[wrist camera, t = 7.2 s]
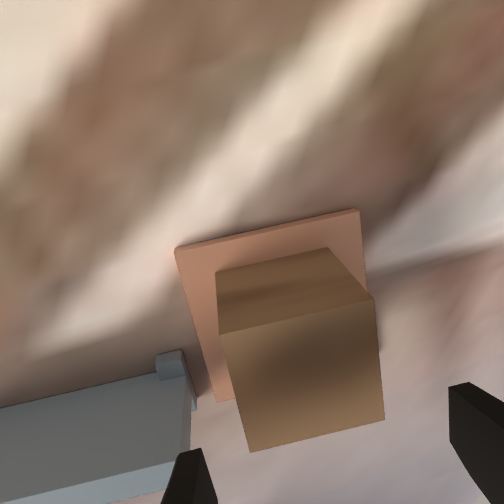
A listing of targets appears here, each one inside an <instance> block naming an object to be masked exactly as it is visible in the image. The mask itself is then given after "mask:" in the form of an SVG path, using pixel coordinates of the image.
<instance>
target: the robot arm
mask: <svg viewBox="0 0 504 504" xmlns="http://www.w3.org/2000/svg"><path fill="white" fill-rule="evenodd" d="M448 390H449V435H450V442H451V444H452V446H453V448H454V449H455V451H456V453H457V454H458V456H459V458H460V460H461V461H462V463H463V465H464V466H465V468H466V469H467V471H468V473H469V474H470V476H471V477H472V479H473V480H474V482H475V483H476V484H477V486H478V487H479V488H480V490H481V491H482V492H483V494H484V495H485V496H486V498H487V499H488V500H489V502H490V503H491V504H504V402H502V401H501V400H499V399H497V398H496V397H494V396H492V395H490V394H489V393H487V392H485V391H484V390H482V389H480V388H479V387H477V386H475V385H473V384H472V383H470V382H467V383H462V384H458V385H454V386H450V387H448ZM161 504H218V499H217V496H216V493H215V490H214V487H213V483H212V480H211V477H210V474H209V471H208V468H207V465H206V462H205V458H204V455H203V452H202V449H201V448H198V449H194V450H190V451H186V452H182V453H179V455H178V456H177V458H176V461H175V464H174V467H173V470H172V473H171V476H170V479H169V482H168V485H167V488H166V491H165V493H164V496H163V499H162V501H161Z"/></svg>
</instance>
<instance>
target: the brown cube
mask: <svg viewBox="0 0 504 504" xmlns="http://www.w3.org/2000/svg"><path fill="white" fill-rule="evenodd" d="M215 283H216V297H217V312H218V327H219V337H220V341H221V344H222V348H223V352H224V356H225V360H226V363H227V367H228V371H229V375H230V379H231V382H232V386H233V390H234V394H235V398H236V401H237V405H238V409H239V413H240V417H241V420H242V424H243V428H244V432H245V436H246V439H247V443H248V447H249V451H250V453H252V452H256V451H260V450H264V449H268V448H272V447H276V446H280V445H284V444H289V443H293V442H297V441H301V440H305V439H309V438H313V437H317V436H321V435H325V434H329V433H333V432H338V431H342V430H346V429H350V428H354V427H358V426H362V425H366V424H370V423H374V422H378V421H383V420H385V413H384V402H383V391H382V381H381V370H380V359H379V349H378V338H377V327H376V316H375V306H374V299H373V298H372V296H371V295H370V294H369V293H368V292H367V291H366V290H365V289H364V287H363V286H362V285H361V284H360V283H359V282H358V281H357V279H356V278H355V277H354V276H353V275H352V274H351V273H350V272H349V270H348V269H347V268H346V267H345V266H344V265H343V264H342V263H341V261H340V260H339V259H338V258H337V257H336V256H335V255H334V253H333V252H332V251H331V250H330V249H329V248H328V247H325V248H321V249H316V250H312V251H307V252H303V253H299V254H294V255H290V256H285V257H281V258H277V259H272V260H268V261H263V262H259V263H254V264H250V265H246V266H241V267H237V268H232V269H228V270H223V271H219V272H215Z"/></svg>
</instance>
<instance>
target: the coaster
mask: <svg viewBox="0 0 504 504" xmlns="http://www.w3.org/2000/svg"><path fill="white" fill-rule="evenodd" d="M325 247H328V248H329V249H330V250H331V251H332V252H333V253H334V255H335V256H336V257H337V258H338V259H339V260H340V261H341V263H342V264H343V265H344V266H345V267H346V268H347V269H348V270H349V272H350V273H351V274H352V275H353V276H354V277H355V278H356V279H357V281H358V282H359V283H360V284H361V285H362V286H363V287H364V289H365V290H366V291H367V283H366V273H365V263H364V253H363V243H362V233H361V223H360V213H359V211H358V210H356V209H355V208H352V209H348V210H343V211H339V212H334V213H330V214H325V215H321V216H316V217H312V218H307V219H303V220H299V221H294V222H290V223H285V224H281V225H276V226H272V227H267V228H263V229H258V230H254V231H249V232H245V233H240V234H236V235H231V236H227V237H222V238H218V239H213V240H209V241H204V242H200V243H195V244H191V245H186V246H182V247H177V248H175V249H174V256H175V259H176V263H177V266H178V270H179V273H180V277H181V280H182V284H183V287H184V291H185V294H186V298H187V301H188V304H189V308H190V311H191V315H192V318H193V322H194V325H195V329H196V332H197V336H198V339H199V343H200V346H201V350H202V353H203V357H204V360H205V364H206V367H207V371H208V374H209V378H210V381H211V385H212V388H213V392H214V395H215V399H216V402H221V401H226V400H230V399H234V398H235V394H234V390H233V386H232V382H231V379H230V375H229V371H228V367H227V363H226V360H225V356H224V352H223V348H222V344H221V341H220V337H219V327H218V312H217V297H216V283H215V272H219V271H223V270H228V269H232V268H237V267H241V266H246V265H250V264H254V263H259V262H263V261H268V260H272V259H277V258H281V257H285V256H290V255H294V254H299V253H303V252H307V251H312V250H316V249H321V248H325Z"/></svg>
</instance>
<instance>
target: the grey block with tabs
mask: <svg viewBox="0 0 504 504" xmlns="http://www.w3.org/2000/svg"><path fill="white" fill-rule="evenodd" d="M155 368H156V371H157V372H154V373H150V374H146V375H141V376H137V377H133V378H128V379H124V380H120V381H116V382H111V383H107V384H103V385H99V386H94V387H90V388H86V389H82V390H77V391H73V392H69V393H65V394H60V395H56V396H52V397H48V398H43V399H39V400H35V401H30V402H26V403H22V404H18V405H13V406H9V407H5V408H1V409H0V504H108V503H112V502H116V501H120V500H124V499H128V498H132V497H136V496H140V495H144V494H148V493H152V492H156V491H160V490H164V489H166V488H167V485H168V482H169V479H170V476H171V473H172V470H173V467H174V464H175V461H176V458H177V456H178V455H179V453H182V452H186V451H190V432H191V412H192V411H196V410H197V398H196V395H195V392H194V388H193V385H192V382H191V379H190V375H189V372H188V369H187V366H186V362H185V359H184V356H183V353H182V350H177V351H173V352H169V353H164V354H160V355H157V356H156V361H155Z"/></svg>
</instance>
